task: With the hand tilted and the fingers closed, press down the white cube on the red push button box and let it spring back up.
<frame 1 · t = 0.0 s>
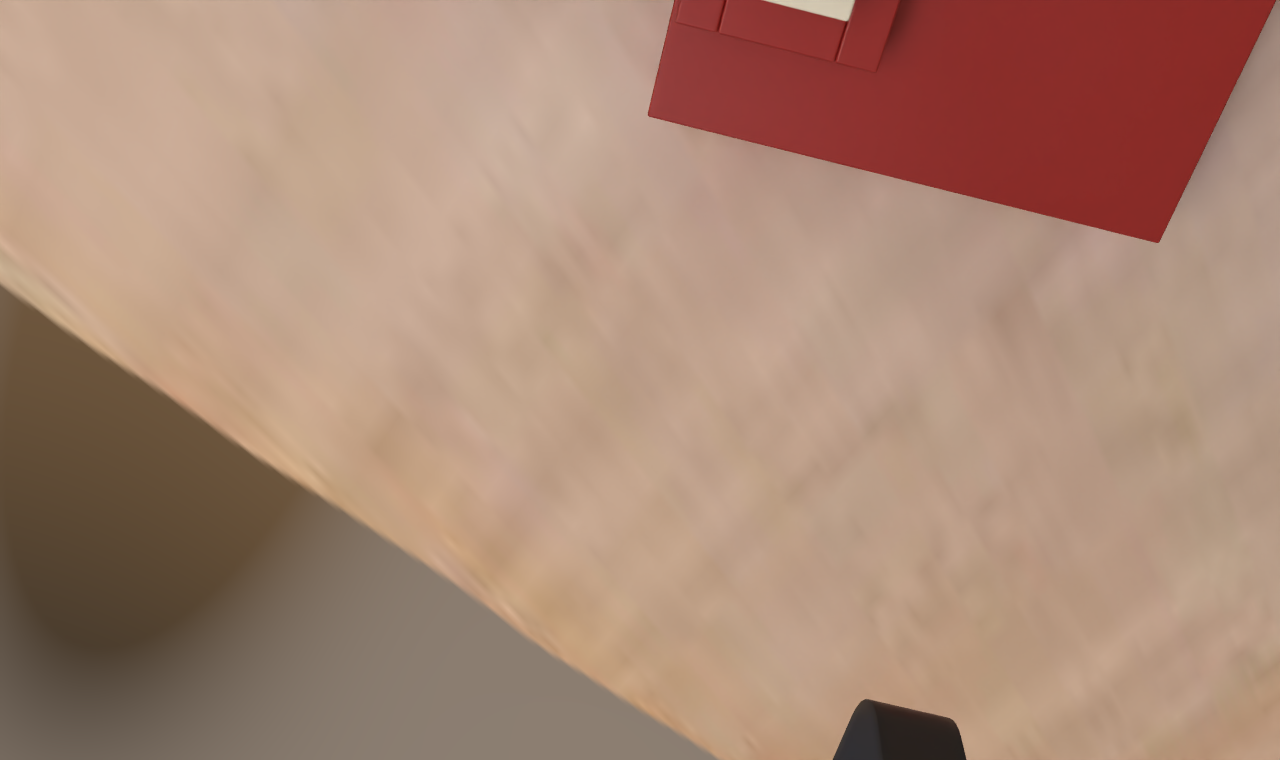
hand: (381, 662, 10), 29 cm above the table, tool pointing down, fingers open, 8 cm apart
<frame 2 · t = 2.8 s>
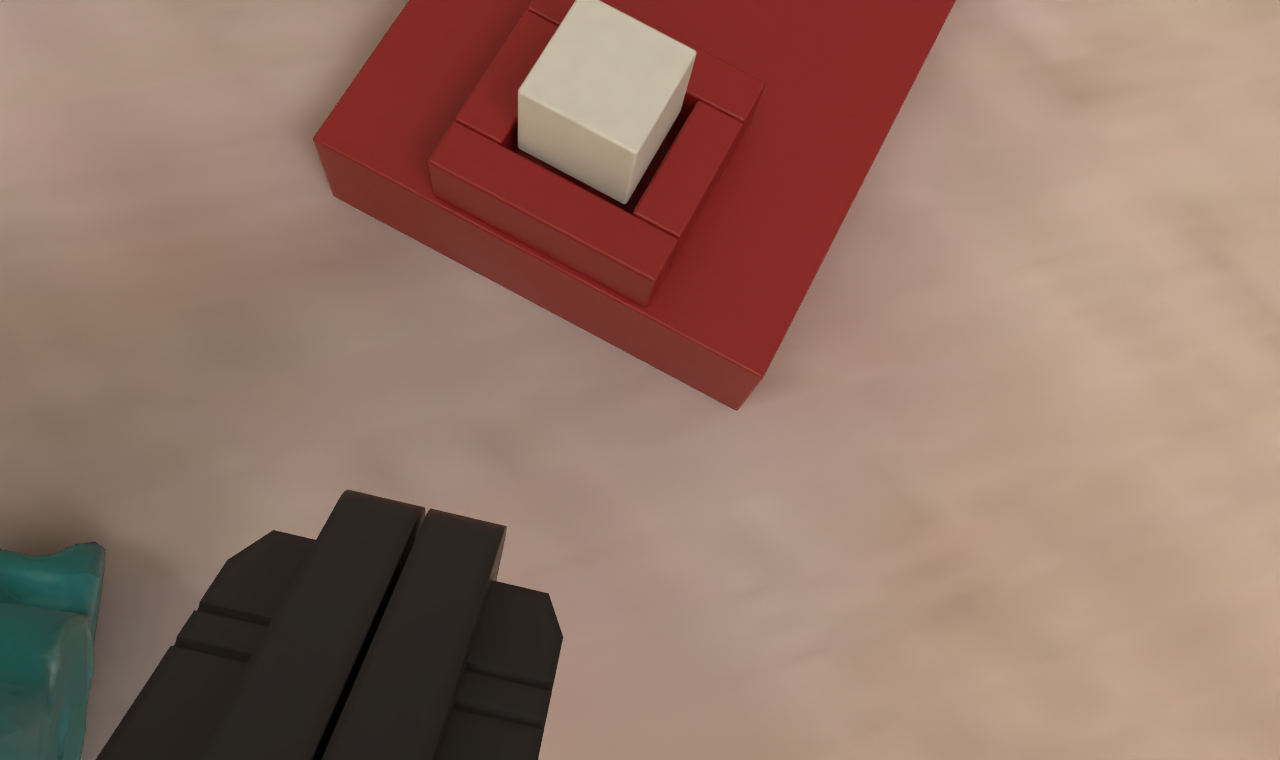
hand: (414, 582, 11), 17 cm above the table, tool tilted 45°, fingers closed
white cube: (604, 101, 25), point 6 cm above the table, slide at 0.1 cm
red push button box: (672, 69, 32), on the table
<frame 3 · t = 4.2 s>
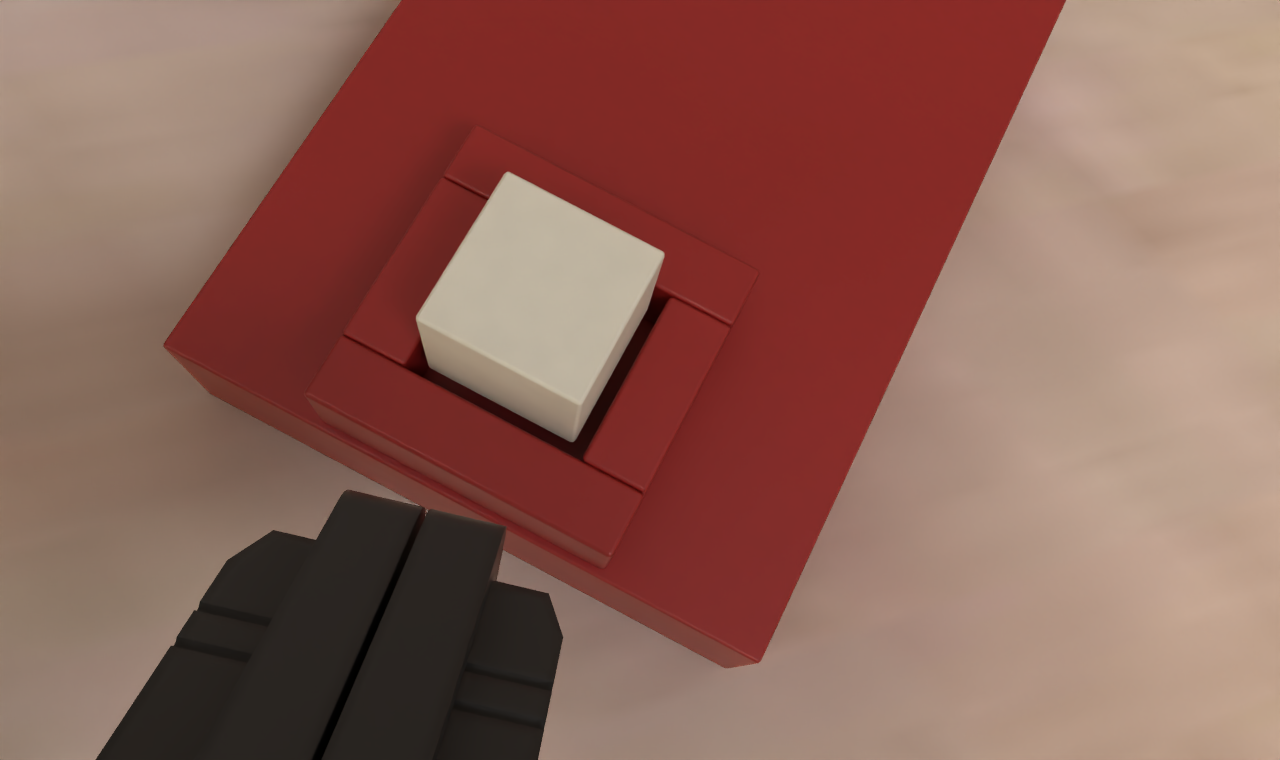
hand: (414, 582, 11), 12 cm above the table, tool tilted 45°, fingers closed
white cube: (541, 312, 18), point 6 cm above the table, slide at 0.1 cm
red push button box: (643, 215, 25), on the table
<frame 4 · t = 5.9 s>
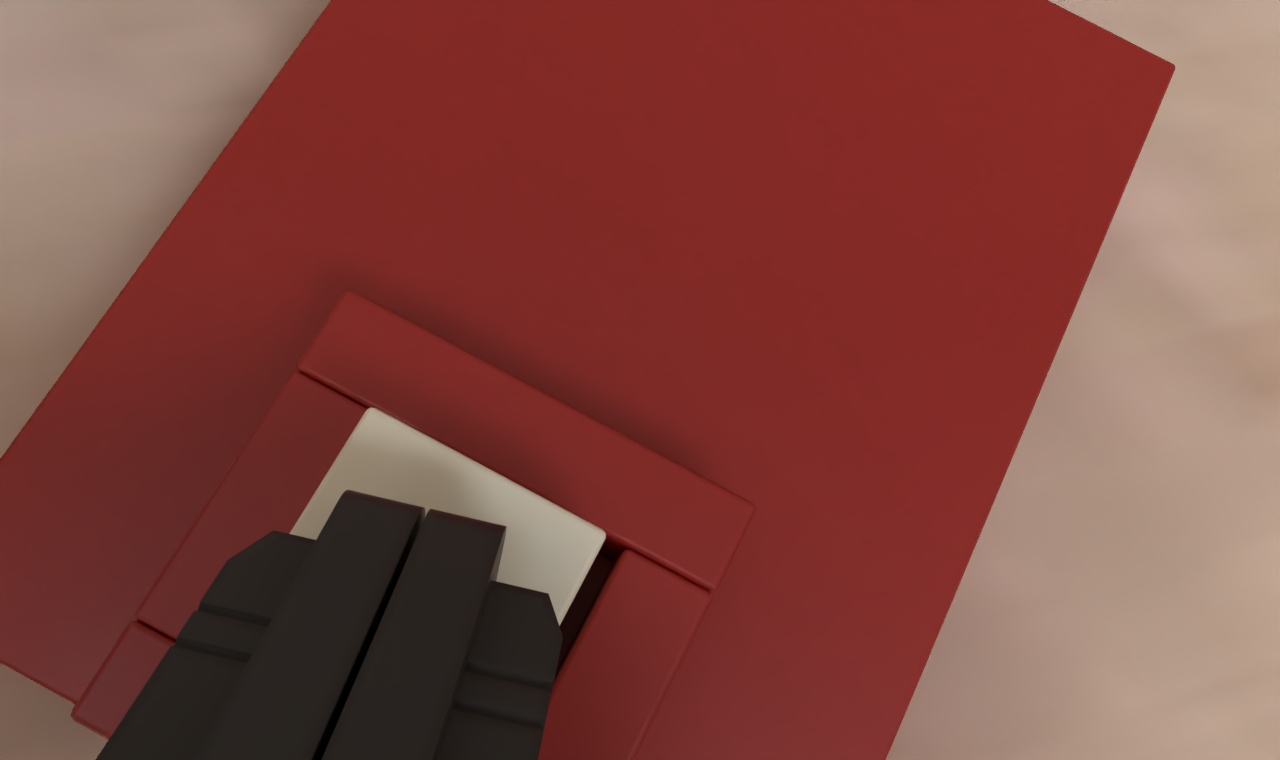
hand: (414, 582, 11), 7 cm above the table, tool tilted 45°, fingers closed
white cube: (427, 600, 12), point 6 cm above the table, slide at -0.2 cm, touching gripper
red push button box: (603, 363, 19), on the table
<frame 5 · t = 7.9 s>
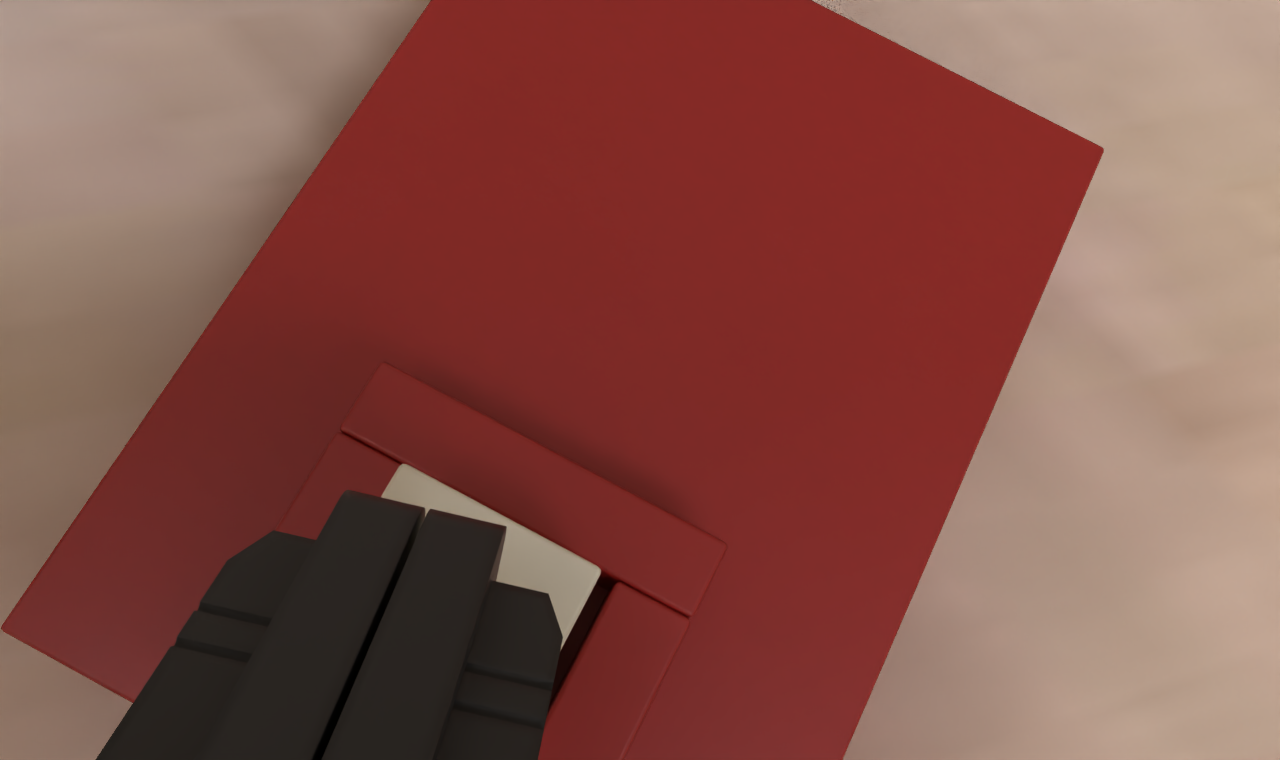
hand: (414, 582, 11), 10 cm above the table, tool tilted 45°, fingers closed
white cube: (450, 625, 15), point 6 cm above the table, slide at 0.1 cm
red push button box: (601, 410, 22), on the table
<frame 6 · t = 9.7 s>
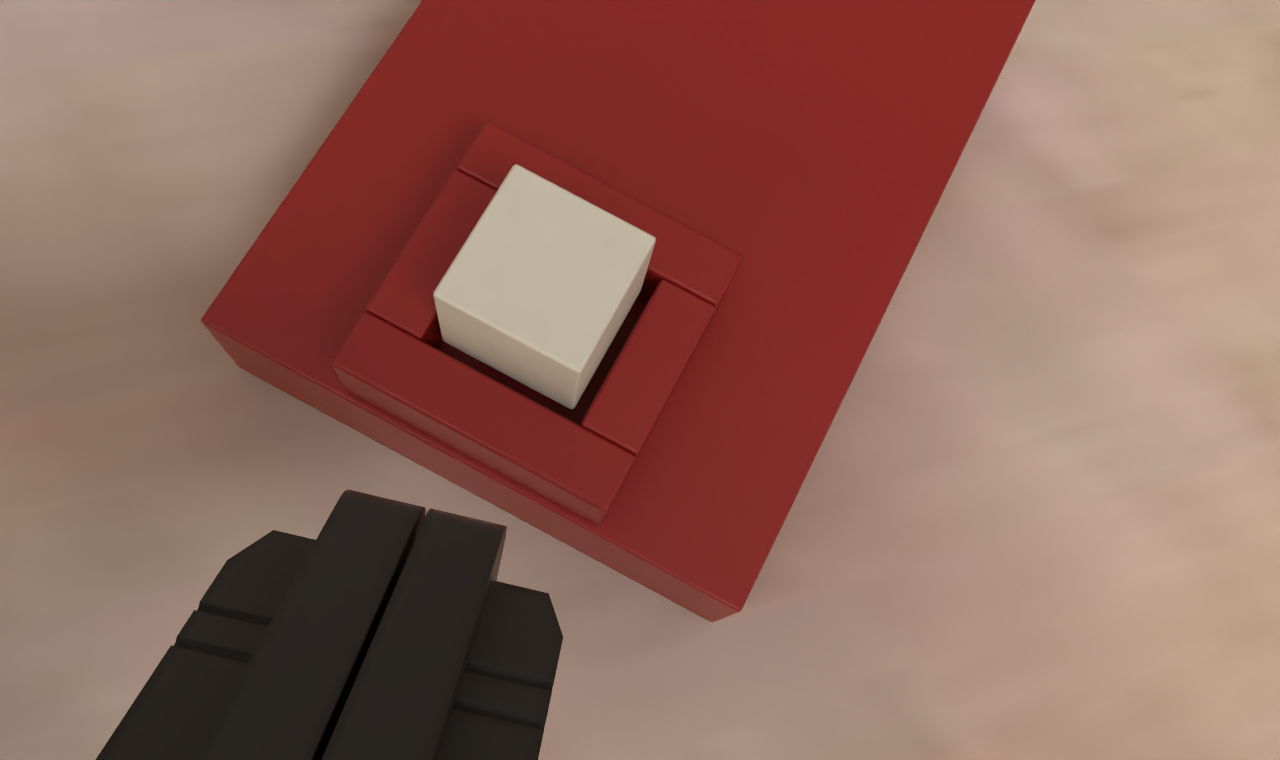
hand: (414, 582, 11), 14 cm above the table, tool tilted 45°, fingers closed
white cube: (544, 291, 20), point 6 cm above the table, slide at 0.1 cm
red push button box: (639, 206, 27), on the table
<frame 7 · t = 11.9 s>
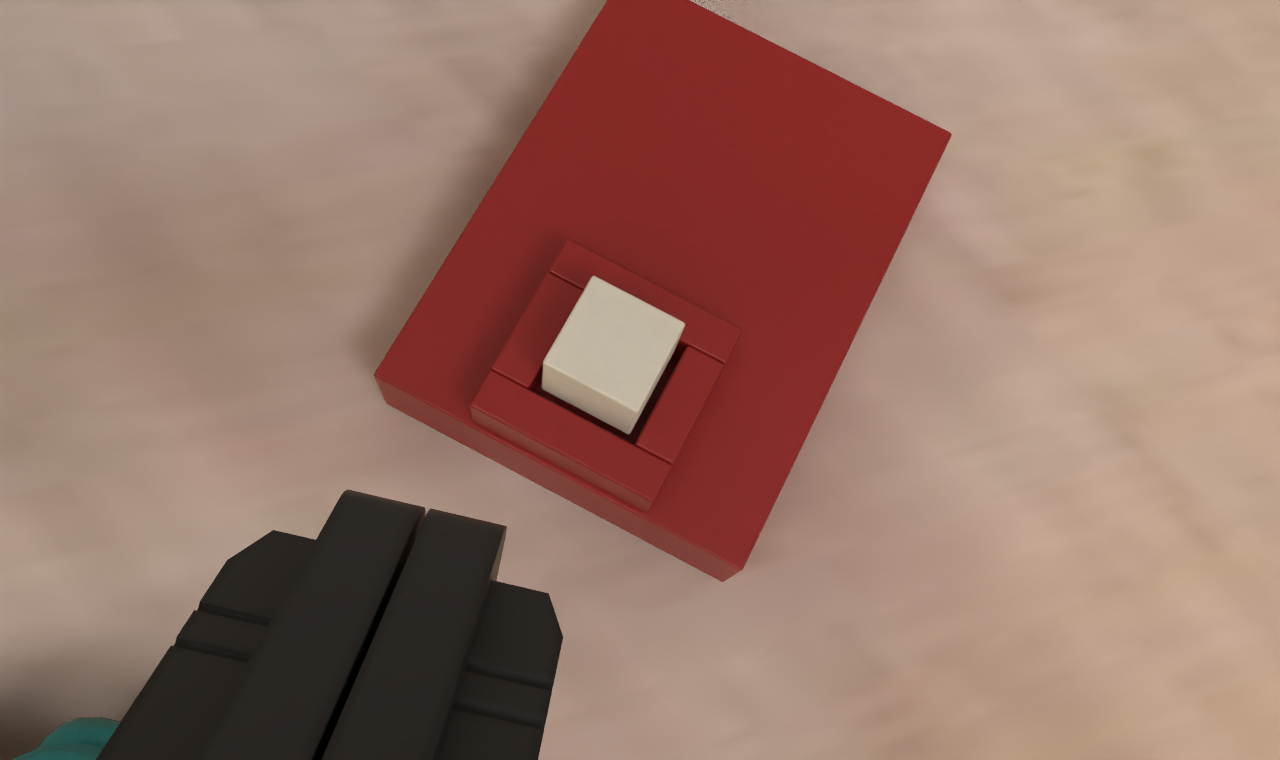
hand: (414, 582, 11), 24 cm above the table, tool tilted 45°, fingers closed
white cube: (611, 356, 31), point 6 cm above the table, slide at 0.1 cm
red push button box: (667, 284, 38), on the table
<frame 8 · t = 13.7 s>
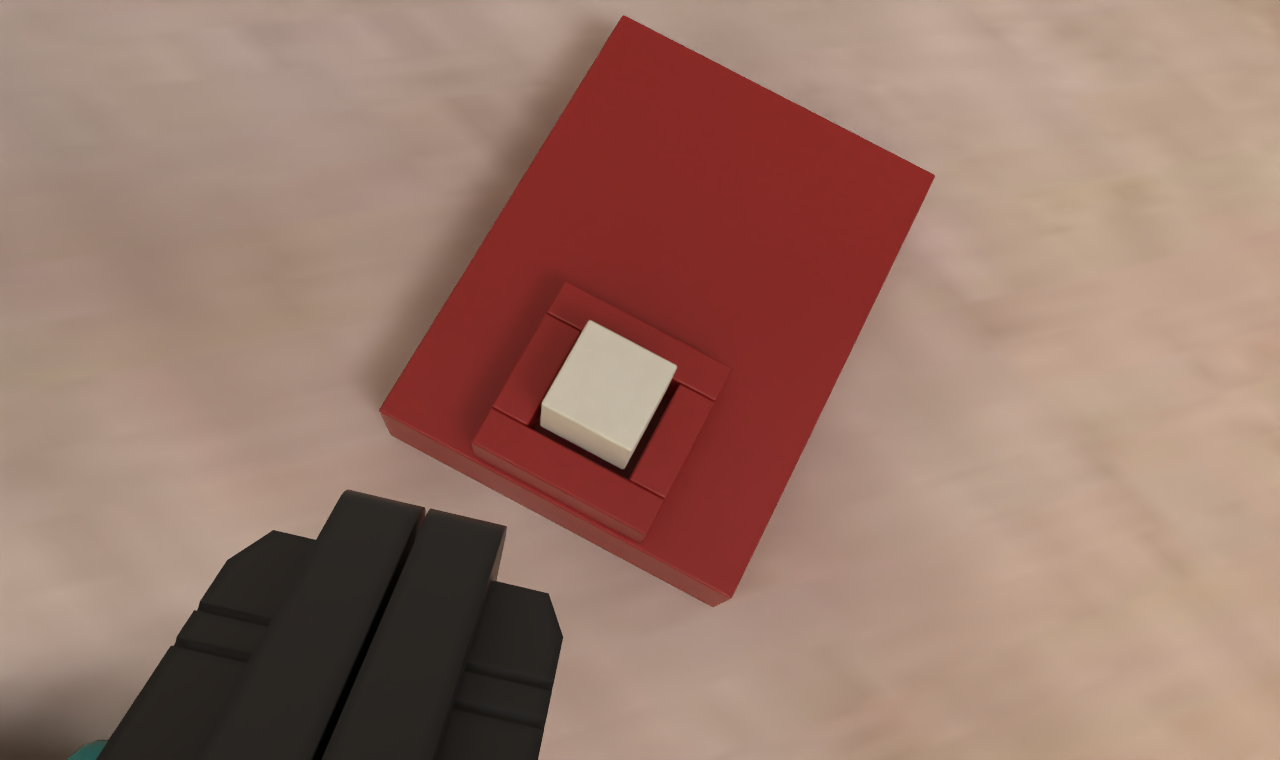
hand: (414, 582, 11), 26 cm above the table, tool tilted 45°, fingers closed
white cube: (606, 396, 32), point 6 cm above the table, slide at 0.1 cm
red push button box: (661, 318, 39), on the table
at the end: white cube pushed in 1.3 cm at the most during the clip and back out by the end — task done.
